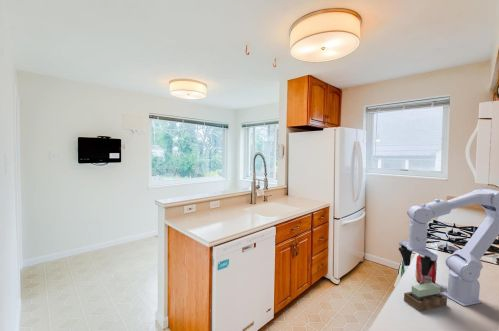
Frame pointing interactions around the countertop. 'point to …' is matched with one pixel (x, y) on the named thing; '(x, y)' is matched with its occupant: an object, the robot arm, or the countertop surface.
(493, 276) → the countertop surface
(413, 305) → the post base
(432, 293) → the green toy bench
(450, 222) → the countertop surface
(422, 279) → the soda can
